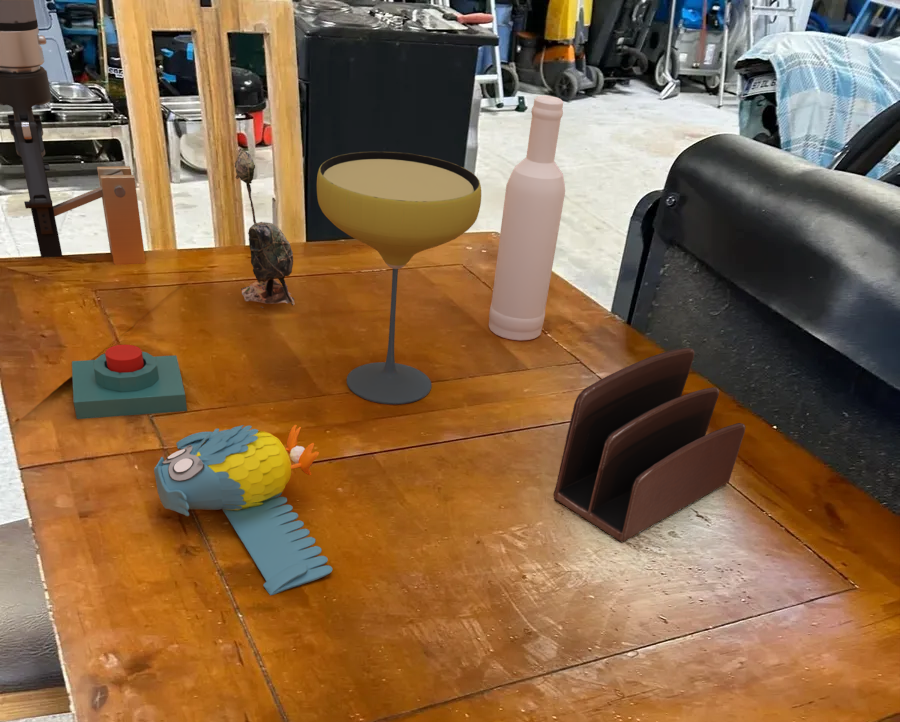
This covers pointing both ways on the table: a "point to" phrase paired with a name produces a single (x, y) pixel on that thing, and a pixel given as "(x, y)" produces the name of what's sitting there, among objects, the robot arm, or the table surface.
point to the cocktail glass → (396, 234)
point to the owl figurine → (247, 496)
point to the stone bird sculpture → (265, 250)
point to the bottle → (529, 230)
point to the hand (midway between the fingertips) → (48, 238)
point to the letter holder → (643, 446)
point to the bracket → (122, 215)
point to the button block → (127, 388)
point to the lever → (79, 200)
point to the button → (124, 358)
